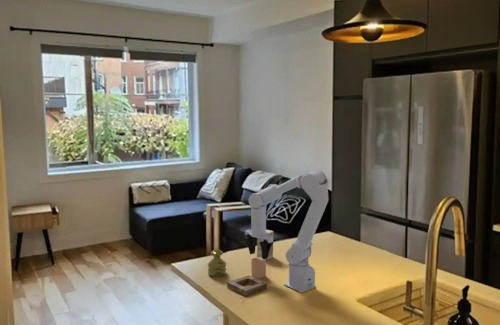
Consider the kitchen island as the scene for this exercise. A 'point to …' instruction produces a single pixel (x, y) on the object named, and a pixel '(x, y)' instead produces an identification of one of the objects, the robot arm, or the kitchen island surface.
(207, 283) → the kitchen island surface
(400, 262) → the kitchen island surface
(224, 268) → the olive green textured figure
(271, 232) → the skincare box
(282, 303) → the kitchen island surface
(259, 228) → the robot arm
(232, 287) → the socket block
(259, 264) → the peg
